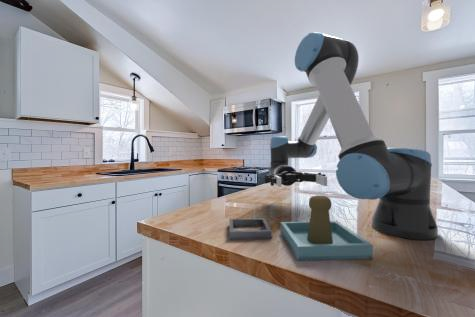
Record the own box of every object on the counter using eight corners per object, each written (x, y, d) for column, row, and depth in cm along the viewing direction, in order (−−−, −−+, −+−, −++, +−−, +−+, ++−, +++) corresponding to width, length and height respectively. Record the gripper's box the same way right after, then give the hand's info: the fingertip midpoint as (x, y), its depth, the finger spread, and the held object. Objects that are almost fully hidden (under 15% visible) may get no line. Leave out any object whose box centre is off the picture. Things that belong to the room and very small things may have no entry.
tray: (336, 231, 64) (336, 220, 64) (372, 258, 48) (372, 244, 48) (280, 232, 63) (280, 222, 63) (298, 260, 47) (298, 246, 47)
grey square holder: (264, 224, 70) (264, 218, 70) (271, 238, 59) (271, 231, 59) (229, 225, 69) (229, 219, 69) (229, 239, 58) (229, 232, 58)
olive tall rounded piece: (335, 246, 52) (336, 199, 52) (308, 244, 53) (308, 198, 53) (330, 236, 58) (330, 194, 58) (305, 234, 59) (306, 193, 59)
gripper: (316, 184, 88) (344, 193, 67) (253, 185, 87) (261, 195, 66) (316, 164, 88) (344, 168, 67) (252, 165, 87) (260, 169, 66)
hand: (303, 181), depth 66 cm, fingers open, 13 cm apart
